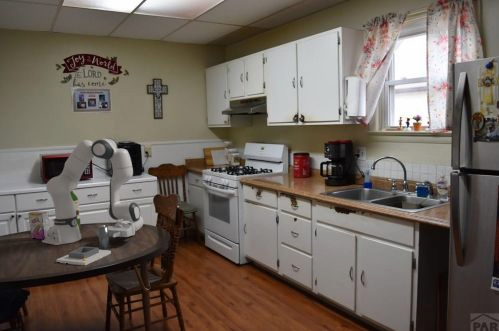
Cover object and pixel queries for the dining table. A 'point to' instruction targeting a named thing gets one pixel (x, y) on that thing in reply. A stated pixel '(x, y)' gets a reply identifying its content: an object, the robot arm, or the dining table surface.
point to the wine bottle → (76, 207)
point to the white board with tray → (83, 256)
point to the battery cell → (103, 237)
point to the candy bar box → (38, 224)
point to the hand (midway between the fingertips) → (105, 235)
